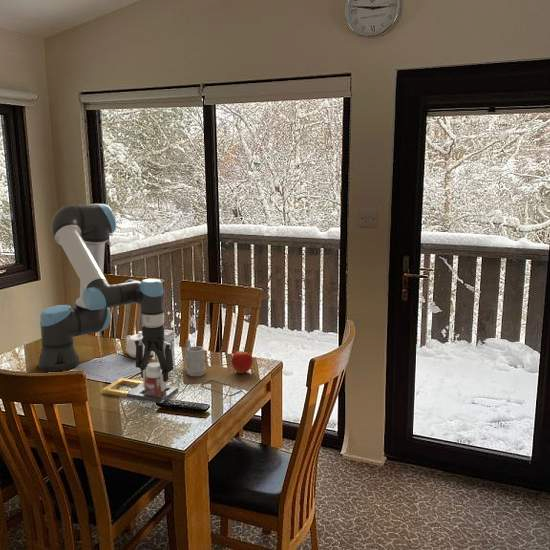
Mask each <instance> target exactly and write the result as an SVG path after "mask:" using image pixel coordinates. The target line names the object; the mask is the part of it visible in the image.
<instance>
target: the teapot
mask: <svg viewBox="0 0 550 550" xmlns="http://www.w3.org/2000/svg"><path fill="white" fill-rule="evenodd" d="M142 338H143V336H142V330H140V331H138V332H137V334H133V335H126V336H125V341H126V346H125V351H126V353H127V354H128V355H129V356H130V357H131V358H133V359H136V345H135V341H136V340H138V339H142ZM144 349H145V345H144V344H143V355H144ZM154 353H155V352H154V351H151V353H150V357H151V356H152V355H153V354H154Z"/></svg>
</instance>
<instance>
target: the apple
mask: <svg viewBox="0 0 550 550" xmlns="http://www.w3.org/2000/svg"><path fill="white" fill-rule="evenodd" d="M244 348H245V347H243V348H242V351H241V350H238V351H236V352H234V353H233V355H232V356H231V360H230V361H231V365H232V368H233V369H234V372H236V373H238V374H244V373H247V372H248V371H250V370H251V369H252V367H253V365H254V364H253V363H254V359H253V356H252V355H251V353H248V352H246V351H245V349H244Z"/></svg>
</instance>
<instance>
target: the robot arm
mask: <svg viewBox="0 0 550 550" xmlns="http://www.w3.org/2000/svg"><path fill="white" fill-rule="evenodd" d="M50 227H51V228H50V230H51V234H52V238H53V239H54V241H55V242H56V243H57V245H60V246H61V248H62V249H63V251H64V253H65V255H66V256H67V258H68V261H69V262H70V264H71V266H72V267H73V269H74V271H75V272H76V275H77V277H78V278H79V280H80V284H79V286H80V287H79V297H78V298H77V299H76V300H75V306H74V307H72V306H71V305H69V304H61V305H60V304H57V305H53V306H50V307H47V308H45V309H44V310H42V312H41V313H40V315H39V317H40V318H39V319H40V321H39V326H40V333H41V335H40V336H41V347H42V348H41V351H40V356H39V360H38V368H39V370H42V371H45V372H61V371H60V370H62V371H67V370H70V369H73V368H77V366H79V364H80V355H78V353H77V349H76V348H75V343H74V337H79V336H84V335H90V334H95V333H96V334H97V333H99V332H102V331H105V330H107V328H108V327H109V326H110V324H111V322H112V321H111V320H112V313H111V308H114V307H121V306H125V305H132V304H138V305H140V319H141V331H142V336H143V338H142V339H138V340H136V341H135V345H136V358H135V367H136V368H139V369H140V377H141V379H142V382H143V388H146V372H147V371H148V369H147V365H148V364H149V361H150V357H151V356H150V353H151V351H154V353H155V356H156V355H157V357H158V360H159V363H160V367H161V370H162V372H161V373H160V385H161V391H164V390H165V389H167V386H168V384H167V381H169V373H170V372H171V371H173V370H174V366H173V359H172V345H173V344H172V343H167V342H165V339H164V330H165V313H164V309H165V305H164V300H165V299H164V298H165V297H164V293H165V291H164V284H163V281H162V280H161V279H158V278H145V279H142V280H141V281H140V280H137V279H131V278H130V279H127V280H125V281H124V282H121V283H116V284H115V283H114V284H110V283H109V282H108V280H107V279H106V277H105V275H104V267H105V265H104V264H105V247H106V243H107V242H108V241H110V235H111V234H113V233H114V232H115V231H116V229H117V220H116V217H115V214H114V212H113V209H112V208H111V207H110V205H107V204H105V203H86V204H83V203H82V204H68V205H65V206H63V207H61V208H59V209H58V210H57V211H56V213H55V214H54V215H53V218H52V219H51V225H50ZM143 344H144V345H145V349H144V355H143ZM163 345H164V349H165V356H164V350H163ZM159 350H160V351H159ZM165 358H166V359H165ZM66 369H67V370H66ZM164 392H165V391H164Z"/></svg>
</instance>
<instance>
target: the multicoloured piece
mask: <svg viewBox="0 0 550 550" xmlns="http://www.w3.org/2000/svg"><path fill="white" fill-rule="evenodd" d="M122 385H127V386H131V387H133V386H134V388H132V389H131V390H129V391H127V390H123V389H122V390H121V389H117V388H119V387H120V386H122ZM178 392H179V387H178V386H171V385H167V389H165V390H164V394H162V395H161V396H160V397H157V396H151V395H146V388H143V380H142V381H141V380H135V379H128V378H123V377H120V378H118V379H117V380H115V381H113V382H112V383H110V384H108V385H107V386H105V387H103V388H102V389H101V393H102V394H105V395H110V396H111V395H112V396H115V397H123V398H129V399H134V400H138V401H144V402H151V403H156V404H157V402H158V401H162V400H166V401H167V400H169V399H170V398H172V397H173V396H174V395H175V394H177V393H178Z"/></svg>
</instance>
